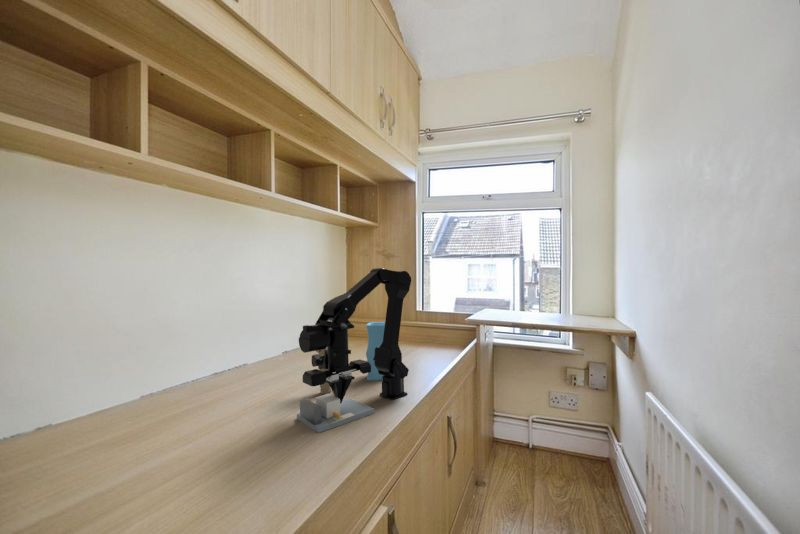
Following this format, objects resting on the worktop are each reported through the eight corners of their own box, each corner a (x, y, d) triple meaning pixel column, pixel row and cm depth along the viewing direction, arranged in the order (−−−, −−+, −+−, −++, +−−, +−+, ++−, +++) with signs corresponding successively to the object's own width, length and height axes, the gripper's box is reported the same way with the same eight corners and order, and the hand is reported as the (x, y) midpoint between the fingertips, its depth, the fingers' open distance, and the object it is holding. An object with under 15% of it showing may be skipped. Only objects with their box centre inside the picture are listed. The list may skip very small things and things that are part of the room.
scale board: (350, 401, 103) (350, 396, 104) (374, 413, 95) (374, 407, 95) (296, 418, 92) (296, 412, 92) (318, 433, 83) (318, 426, 83)
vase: (388, 380, 124) (386, 324, 125) (366, 380, 125) (365, 325, 125) (390, 374, 132) (389, 322, 133) (370, 374, 133) (368, 322, 133)
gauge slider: (328, 408, 95) (328, 393, 95) (346, 417, 89) (346, 401, 89) (315, 412, 93) (315, 397, 93) (332, 422, 86) (332, 405, 86)
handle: (328, 396, 109) (327, 349, 109) (313, 393, 112) (312, 347, 112) (338, 391, 113) (337, 346, 114) (323, 389, 116) (322, 344, 117)
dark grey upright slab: (307, 414, 92) (306, 399, 92) (321, 423, 86) (321, 406, 86) (300, 416, 91) (299, 401, 91) (314, 425, 85) (314, 409, 85)
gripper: (350, 338, 107) (351, 388, 106) (292, 347, 94) (294, 404, 94) (371, 342, 98) (373, 397, 98) (312, 353, 86) (313, 416, 86)
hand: (339, 403), depth 94 cm, fingers closed
